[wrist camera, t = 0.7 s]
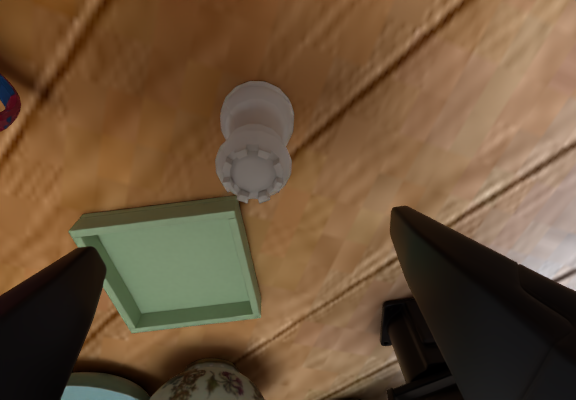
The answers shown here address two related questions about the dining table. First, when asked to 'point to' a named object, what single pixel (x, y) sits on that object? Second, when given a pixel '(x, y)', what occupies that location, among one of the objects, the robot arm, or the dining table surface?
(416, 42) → the dining table surface
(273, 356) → the dining table surface
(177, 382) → the bowl
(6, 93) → the cup
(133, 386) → the saucer
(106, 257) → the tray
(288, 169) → the rook chess piece
